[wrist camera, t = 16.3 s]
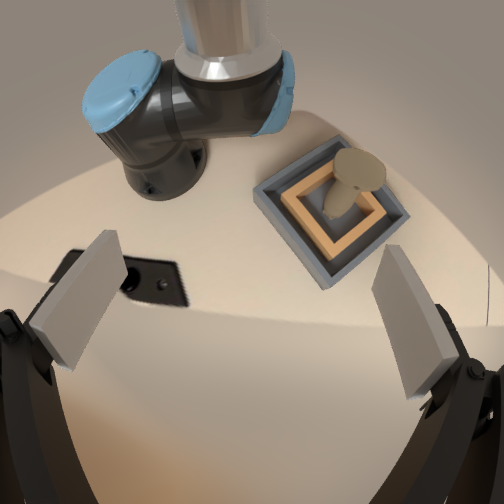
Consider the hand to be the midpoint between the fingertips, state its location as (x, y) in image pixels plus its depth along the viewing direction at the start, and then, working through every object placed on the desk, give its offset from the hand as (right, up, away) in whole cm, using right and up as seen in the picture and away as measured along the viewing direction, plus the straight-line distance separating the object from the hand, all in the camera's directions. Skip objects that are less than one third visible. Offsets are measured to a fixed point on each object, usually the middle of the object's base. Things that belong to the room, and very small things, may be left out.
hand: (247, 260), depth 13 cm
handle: (+13, +7, +30) cm, 34 cm away
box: (+13, +7, +31) cm, 35 cm away
